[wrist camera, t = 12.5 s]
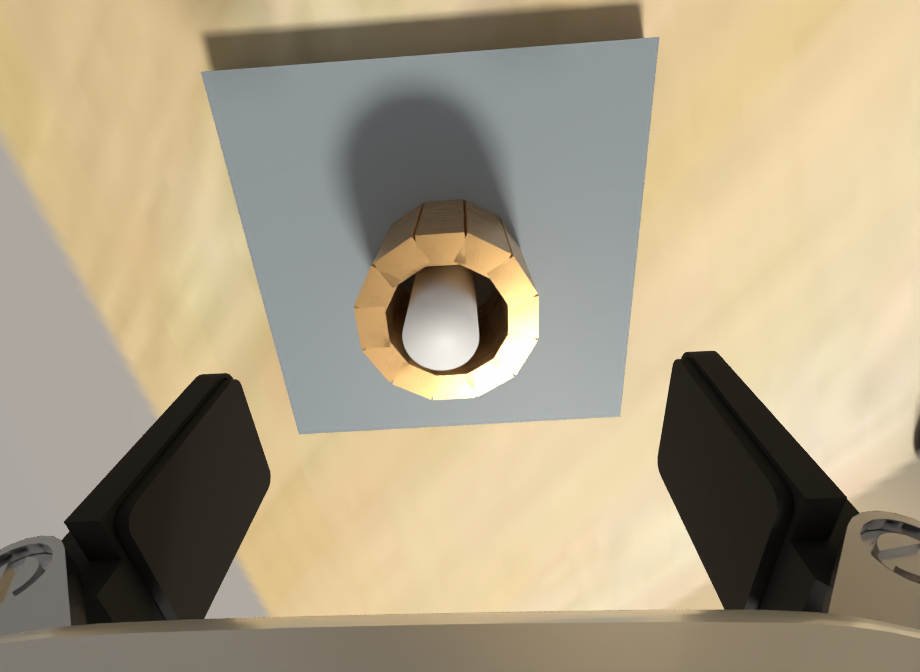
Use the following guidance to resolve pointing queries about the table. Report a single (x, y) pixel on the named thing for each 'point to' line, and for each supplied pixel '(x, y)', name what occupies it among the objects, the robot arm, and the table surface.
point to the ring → (499, 319)
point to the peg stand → (435, 179)
